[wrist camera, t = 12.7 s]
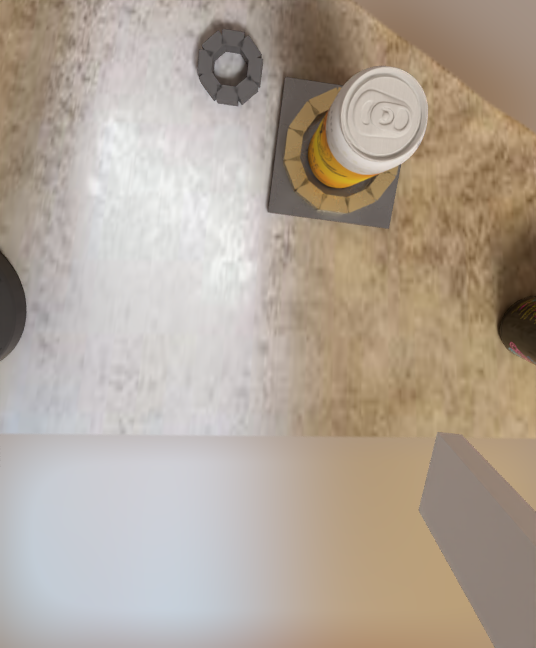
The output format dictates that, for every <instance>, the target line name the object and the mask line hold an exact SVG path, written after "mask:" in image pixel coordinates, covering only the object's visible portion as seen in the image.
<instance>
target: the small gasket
mask: <svg viewBox="0 0 536 648" xmlns="http://www.w3.org/2000/svg"><path fill="white" fill-rule="evenodd" d="M202 48H203V50H202V49H200V50H199V61H198V75H199V79H200V82H201V84H202V85H203V86H204V88H205V89H206V90H207V92H208V93H209V95H210V96H211V97H212V99H213V100H214V101H215V100H217V102H218V103H220V104H227V105H233V106H238V101H239V102H240V103H241V104H242V105H243V104H244V103H245V102H246V101H247V100H249V99H250V98H251V97H252V96H253V95H254V94H256V93H257V92H258V87H260V83H261V74H262V66H263V59H261V55H262V54H261V53H260V51H259V50H258V48H257V47H256V45H255V44H254V42H253V41H252V39H251V38H250V37H249V35H247V36H246V37H245V34H244V32H240V31H234V30H227V29H223V31H222V34H221V33H220V32H219V30H218V31H217V32H216V33H215V34H213V35H212V36H211V37H210V38H209V39H208V40H207V41H205V42H204V43H203V44H202ZM225 52H232V53H239V54H241V55H242V57H243V58H244V60H245V61H246V63H247V64H248V72H247V77H246V78H245V79H244V80H243V81H241V82H240V83H239V84H238V85H237V86H236V87H235V86H228V85H221V84H220V83H219V81H218V80H217V79H216V77H215V76H214V74H213V73H214V63H215V61H216V60H217V59H218V58H219V57H220V56H221V55H222V54H224V53H225Z"/></svg>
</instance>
